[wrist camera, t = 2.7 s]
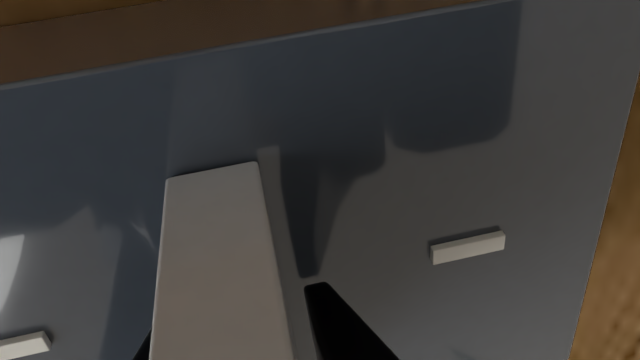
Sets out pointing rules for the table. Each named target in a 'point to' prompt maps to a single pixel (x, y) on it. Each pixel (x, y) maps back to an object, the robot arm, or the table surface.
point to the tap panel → (319, 162)
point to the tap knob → (219, 272)
